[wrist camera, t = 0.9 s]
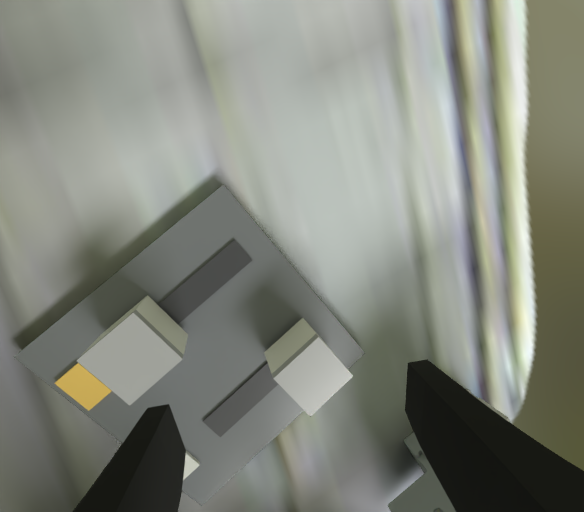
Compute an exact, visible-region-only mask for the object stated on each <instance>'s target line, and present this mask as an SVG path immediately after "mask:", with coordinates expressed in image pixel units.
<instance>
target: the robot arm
mask: <svg viewBox="0 0 584 512" xmlns="http://www.w3.org/2000/svg"><path fill="white" fill-rule="evenodd" d="M405 411H406V414H407V416H408V419H409V421H410V424H411V426H412V429H413V431H414V433H415V436H416V438H417V440H418V443H419V445H420V447H421V449H422V451H423V452H424V454H425V456H426V458H427V460H428V462H429V463H430V465H431V467H432V469H433V471H434V473H435V474H436V476H437V478H438V480H439V482H440V483H441V485H442V487H443V489H444V491H445V493H446V494H447V496H448V498H449V500H450V502H451V503H452V505H453V507H454V509H455V511H456V512H584V471H583V470H581V469H579V468H578V467H576V466H575V465H573V464H571V463H570V462H568V461H566V460H565V459H563V458H562V457H560V456H558V455H557V454H555V453H554V452H552V451H551V450H549V449H547V448H546V447H544V446H543V445H541V444H540V443H539V442H537V441H536V440H534V439H533V438H531V437H530V436H528V435H527V434H525V433H524V432H522V431H521V430H520V429H518V428H517V427H515V426H514V425H512V424H511V423H510V422H508V421H507V420H505V419H504V418H503V417H501V416H500V415H499V414H497V413H496V412H495V411H493V410H492V409H491V408H489V407H488V406H486V405H485V404H484V403H482V402H481V401H480V400H478V399H477V398H476V397H475V396H473V395H472V394H471V393H469V392H468V391H467V390H465V389H464V388H463V387H462V386H460V385H459V384H458V383H456V382H455V381H454V380H453V379H451V378H450V377H449V376H448V375H446V374H445V373H444V372H442V371H441V370H440V369H439V368H437V367H436V366H435V365H433V364H432V363H431V362H430V361H428V360H422V361H416V362H410V363H408V372H407V388H406V404H405ZM185 456H186V449H185V446H184V444H183V441H182V438H181V435H180V433H179V430H178V427H177V424H176V422H175V419H174V416H173V413H172V411H171V408H170V405H169V404H166V405H161V406H155V407H149V408H147V409H146V411H145V412H144V413H143V415H142V416H141V418H140V419H139V420H138V422H137V423H136V425H135V426H134V428H133V429H132V430H131V432H130V433H129V435H128V436H127V438H126V439H125V441H124V442H123V443H122V445H121V446H120V448H119V449H118V451H117V452H116V453H115V455H114V456H113V458H112V459H111V461H110V462H109V463H108V465H107V466H106V467H105V469H104V470H103V472H102V473H101V474H100V476H99V477H98V478H97V480H96V481H95V483H94V484H93V485H92V487H91V488H90V490H89V491H88V492H87V494H86V495H85V496H84V498H83V499H82V500H81V501H80V503H79V504H78V505H77V507H76V508H75V509H74V510H73V512H178V507H179V502H180V497H181V492H182V485H183V476H184V466H185Z"/></svg>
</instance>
